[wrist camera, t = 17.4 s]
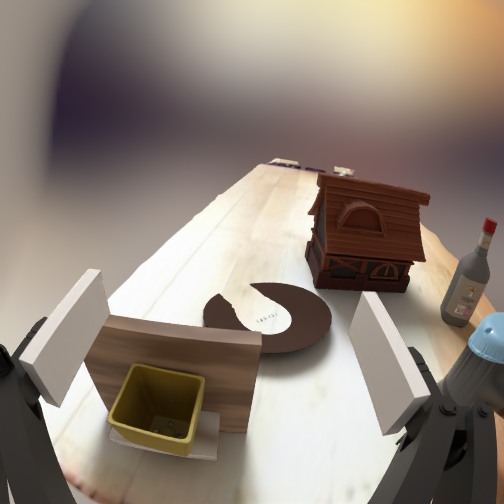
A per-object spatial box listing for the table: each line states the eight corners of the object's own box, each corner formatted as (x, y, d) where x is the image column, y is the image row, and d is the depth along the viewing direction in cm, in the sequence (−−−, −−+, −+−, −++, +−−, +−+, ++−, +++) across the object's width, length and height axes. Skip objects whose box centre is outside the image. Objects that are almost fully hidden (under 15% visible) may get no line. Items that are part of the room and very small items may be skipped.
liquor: (466, 329, 60) (510, 230, 46) (441, 322, 63) (483, 219, 50) (462, 312, 67) (498, 220, 54) (438, 305, 71) (473, 210, 57)
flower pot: (196, 471, 25) (189, 444, 21) (126, 454, 25) (104, 420, 21) (207, 415, 33) (205, 376, 29) (145, 402, 33) (133, 361, 29)
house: (309, 298, 71) (333, 184, 58) (296, 249, 96) (309, 164, 83) (421, 302, 72) (454, 208, 59) (387, 257, 97) (406, 181, 84)
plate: (275, 274, 80) (276, 263, 79) (352, 330, 60) (356, 317, 59) (182, 302, 65) (181, 289, 63) (252, 387, 45) (254, 375, 43)
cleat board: (245, 472, 30) (263, 401, 21) (96, 446, 29) (38, 360, 20) (246, 393, 44) (259, 298, 35) (121, 376, 43) (94, 281, 34)
